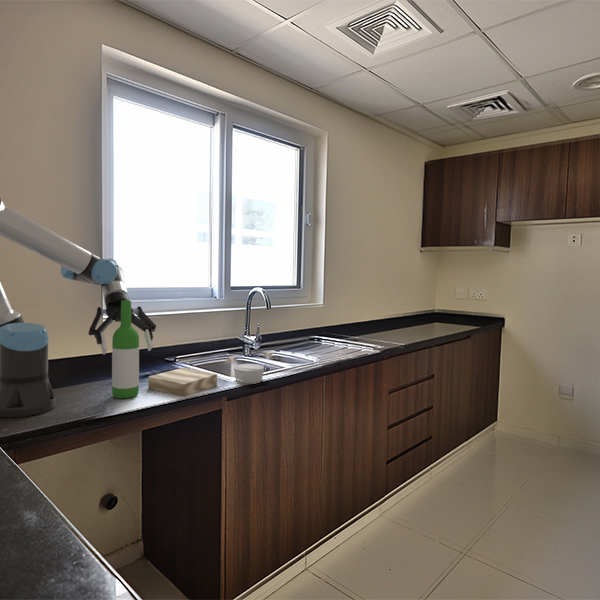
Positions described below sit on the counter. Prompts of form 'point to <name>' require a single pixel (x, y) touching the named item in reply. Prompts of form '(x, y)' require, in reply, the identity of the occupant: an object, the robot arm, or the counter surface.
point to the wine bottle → (125, 356)
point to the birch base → (182, 381)
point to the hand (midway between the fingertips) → (128, 350)
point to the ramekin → (249, 373)
